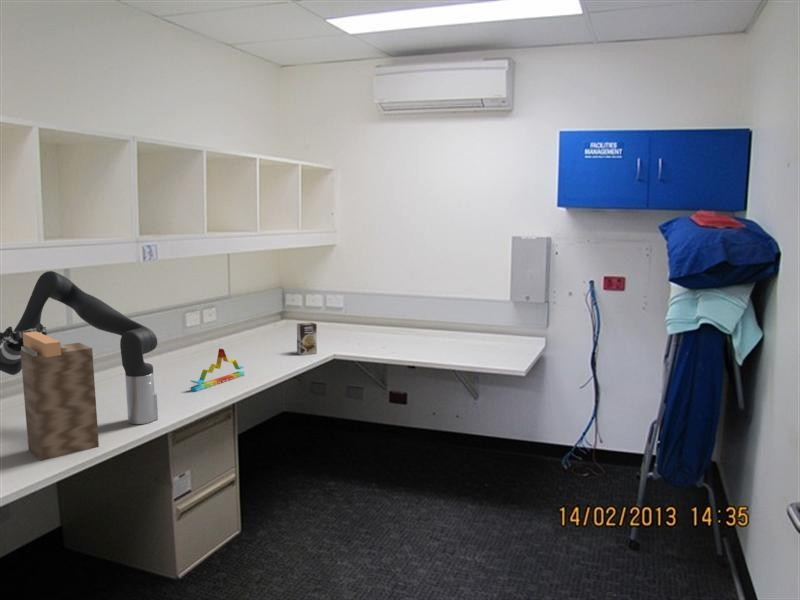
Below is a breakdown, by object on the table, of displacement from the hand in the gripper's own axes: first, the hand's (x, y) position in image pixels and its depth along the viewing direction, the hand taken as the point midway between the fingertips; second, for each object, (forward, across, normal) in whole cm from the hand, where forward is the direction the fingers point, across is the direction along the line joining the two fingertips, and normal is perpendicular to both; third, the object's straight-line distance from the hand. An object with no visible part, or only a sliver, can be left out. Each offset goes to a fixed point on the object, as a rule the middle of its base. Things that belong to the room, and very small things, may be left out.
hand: (25, 327), depth 209 cm
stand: (-3, +4, +41) cm, 41 cm away
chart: (-35, +78, +23) cm, 89 cm away
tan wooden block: (+11, 0, +12) cm, 17 cm away
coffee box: (-53, +141, +12) cm, 151 cm away
